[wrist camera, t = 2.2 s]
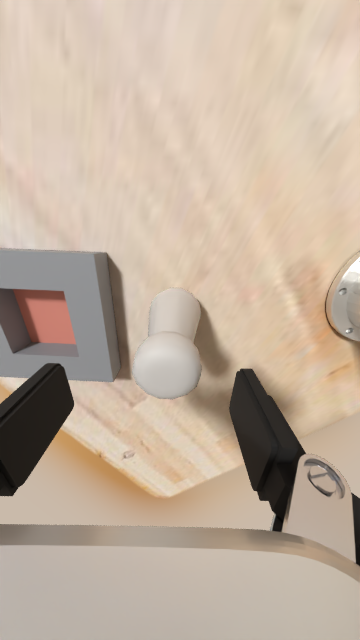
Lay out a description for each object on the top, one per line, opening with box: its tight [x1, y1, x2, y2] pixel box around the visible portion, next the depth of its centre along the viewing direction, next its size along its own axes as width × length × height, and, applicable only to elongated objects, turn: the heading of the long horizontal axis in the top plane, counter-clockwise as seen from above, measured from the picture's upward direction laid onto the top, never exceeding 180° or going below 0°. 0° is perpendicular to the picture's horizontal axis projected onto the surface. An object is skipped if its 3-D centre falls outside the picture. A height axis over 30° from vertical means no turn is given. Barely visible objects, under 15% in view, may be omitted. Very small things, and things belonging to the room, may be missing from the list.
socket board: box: [0, 248, 121, 382], centre depth 21 cm, size 16×16×3 cm
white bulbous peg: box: [132, 288, 202, 399], centre depth 16 cm, size 6×6×13 cm
